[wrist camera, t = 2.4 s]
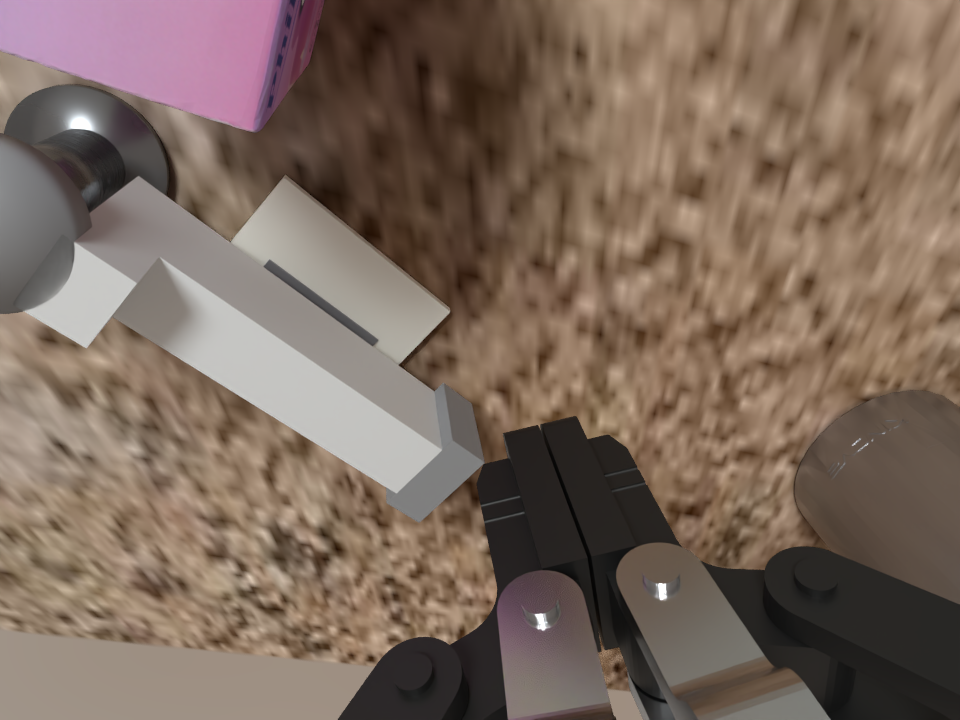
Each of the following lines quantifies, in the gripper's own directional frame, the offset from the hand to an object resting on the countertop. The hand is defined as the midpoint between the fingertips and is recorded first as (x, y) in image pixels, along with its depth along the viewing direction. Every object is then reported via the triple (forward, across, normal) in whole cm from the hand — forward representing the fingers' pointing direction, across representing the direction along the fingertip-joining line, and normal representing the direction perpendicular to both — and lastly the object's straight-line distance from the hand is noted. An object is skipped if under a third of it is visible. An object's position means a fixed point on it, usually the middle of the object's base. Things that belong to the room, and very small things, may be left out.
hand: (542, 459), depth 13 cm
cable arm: (+13, +8, 0) cm, 15 cm away
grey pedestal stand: (+14, +12, -5) cm, 19 cm away
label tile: (+14, +7, +2) cm, 16 cm away
